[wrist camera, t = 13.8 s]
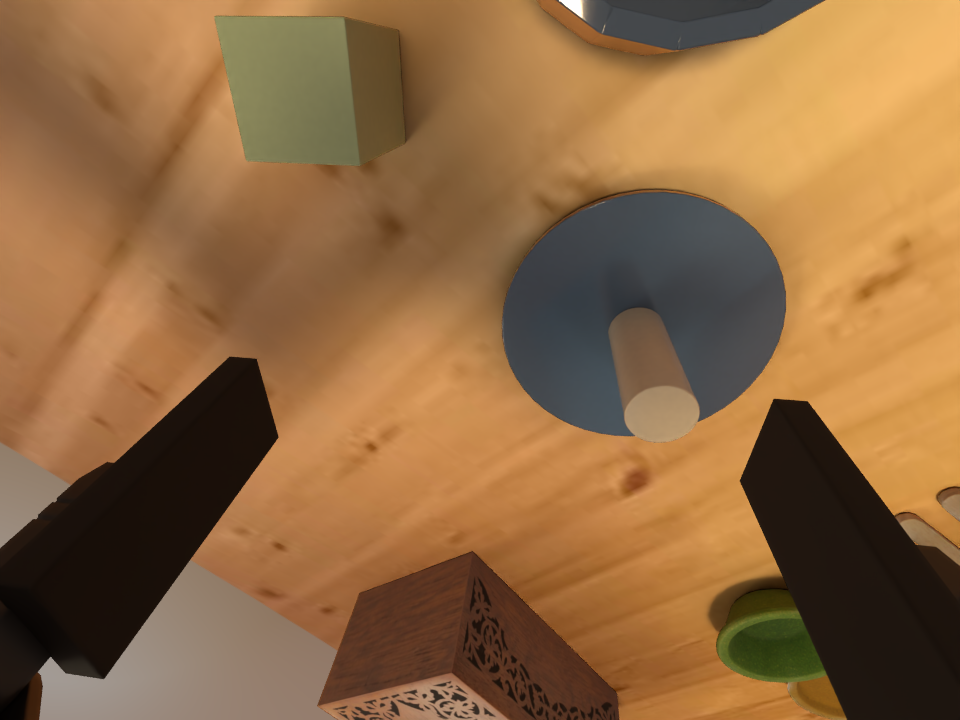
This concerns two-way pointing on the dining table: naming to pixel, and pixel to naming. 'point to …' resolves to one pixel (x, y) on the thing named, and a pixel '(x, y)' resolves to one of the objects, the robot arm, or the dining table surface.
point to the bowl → (671, 21)
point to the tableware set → (802, 630)
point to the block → (313, 88)
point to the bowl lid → (643, 314)
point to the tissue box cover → (458, 655)
